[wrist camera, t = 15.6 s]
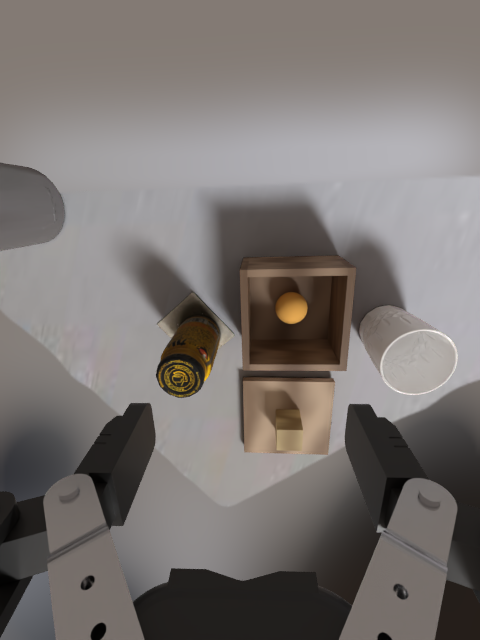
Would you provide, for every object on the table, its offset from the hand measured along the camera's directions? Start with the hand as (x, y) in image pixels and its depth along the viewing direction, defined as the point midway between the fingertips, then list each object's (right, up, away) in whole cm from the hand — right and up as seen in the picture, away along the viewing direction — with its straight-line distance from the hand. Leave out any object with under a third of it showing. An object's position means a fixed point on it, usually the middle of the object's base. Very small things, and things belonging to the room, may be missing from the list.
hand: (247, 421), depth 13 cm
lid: (+7, -10, +35) cm, 37 cm away
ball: (+6, +6, +29) cm, 30 cm away
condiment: (-6, +3, +32) cm, 33 cm away
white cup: (+19, +3, +30) cm, 36 cm away
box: (+6, +7, +29) cm, 31 cm away
